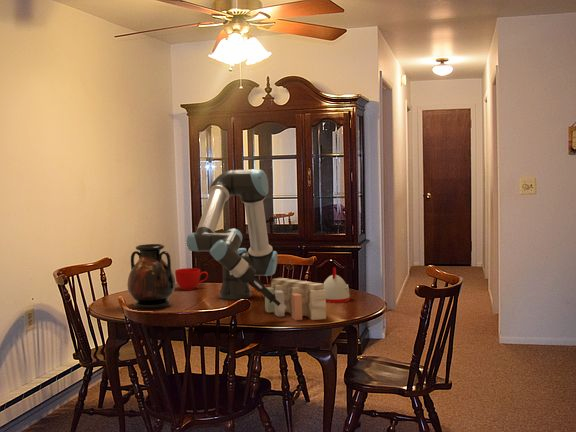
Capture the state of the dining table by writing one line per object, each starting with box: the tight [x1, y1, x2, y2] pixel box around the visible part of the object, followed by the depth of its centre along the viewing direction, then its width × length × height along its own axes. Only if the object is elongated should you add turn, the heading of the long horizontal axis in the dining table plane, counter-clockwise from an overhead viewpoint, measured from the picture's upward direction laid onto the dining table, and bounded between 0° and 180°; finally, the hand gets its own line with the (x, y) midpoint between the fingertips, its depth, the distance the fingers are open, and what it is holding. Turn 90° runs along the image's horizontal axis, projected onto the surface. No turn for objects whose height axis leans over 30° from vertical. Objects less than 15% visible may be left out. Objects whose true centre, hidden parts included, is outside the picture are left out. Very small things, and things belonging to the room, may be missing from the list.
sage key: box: [264, 286, 275, 314], centre depth 294 cm, size 5×3×10 cm, turn 15°
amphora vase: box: [127, 243, 176, 310], centre depth 312 cm, size 22×22×28 cm
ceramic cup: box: [174, 267, 209, 291], centre depth 354 cm, size 13×17×10 cm
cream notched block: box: [270, 277, 327, 321], centre depth 288 cm, size 31×10×14 cm, turn 44°
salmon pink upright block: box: [291, 293, 303, 321], centre depth 278 cm, size 5×3×10 cm, turn 15°
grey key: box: [274, 290, 286, 317], centre depth 286 cm, size 5×3×10 cm, turn 15°
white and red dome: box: [323, 267, 351, 304], centre depth 316 cm, size 14×14×15 cm
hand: (284, 309), depth 277 cm, fingers closed
